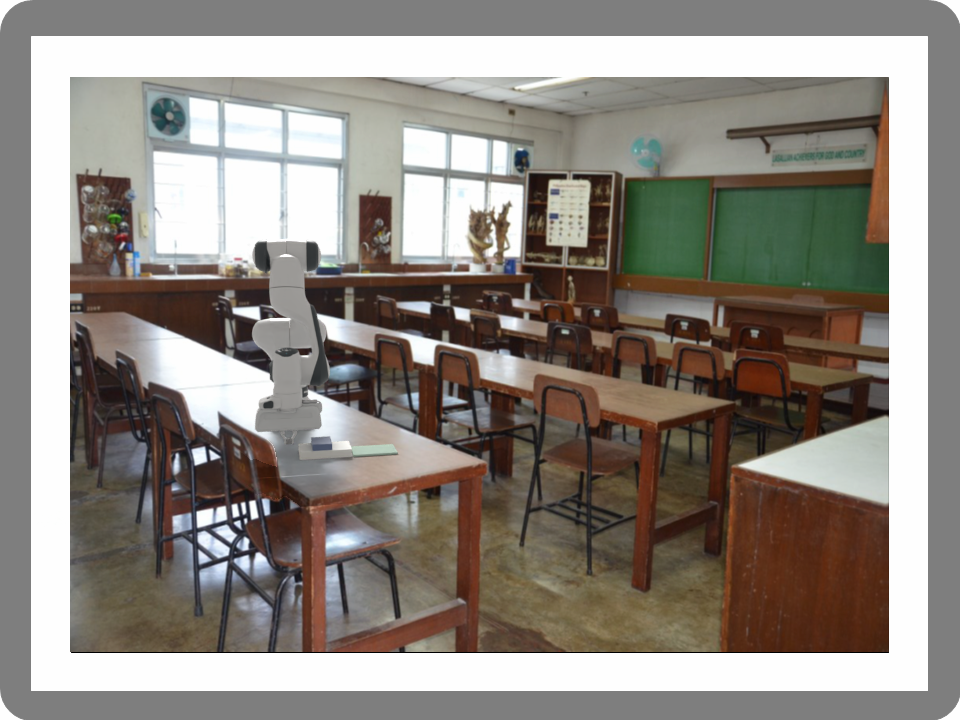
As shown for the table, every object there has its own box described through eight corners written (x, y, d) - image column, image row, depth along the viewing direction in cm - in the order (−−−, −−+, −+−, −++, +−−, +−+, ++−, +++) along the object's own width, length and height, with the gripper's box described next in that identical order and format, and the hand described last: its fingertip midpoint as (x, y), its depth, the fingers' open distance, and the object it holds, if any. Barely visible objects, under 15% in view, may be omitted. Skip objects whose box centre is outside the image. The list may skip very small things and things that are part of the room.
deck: (298, 451, 252) (298, 443, 252) (348, 448, 256) (348, 440, 256) (299, 460, 243) (299, 452, 242) (351, 456, 247) (351, 449, 246)
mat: (350, 448, 256) (350, 446, 256) (393, 445, 260) (393, 444, 260) (353, 456, 247) (353, 454, 247) (397, 454, 251) (397, 452, 250)
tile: (311, 443, 252) (311, 437, 252) (330, 442, 254) (330, 436, 254) (312, 451, 244) (312, 444, 244) (332, 449, 245) (332, 443, 245)
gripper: (321, 397, 249) (322, 439, 252) (254, 399, 244) (255, 443, 246) (322, 401, 243) (323, 444, 245) (254, 404, 238) (255, 448, 240)
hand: (289, 443), depth 246 cm, fingers closed
